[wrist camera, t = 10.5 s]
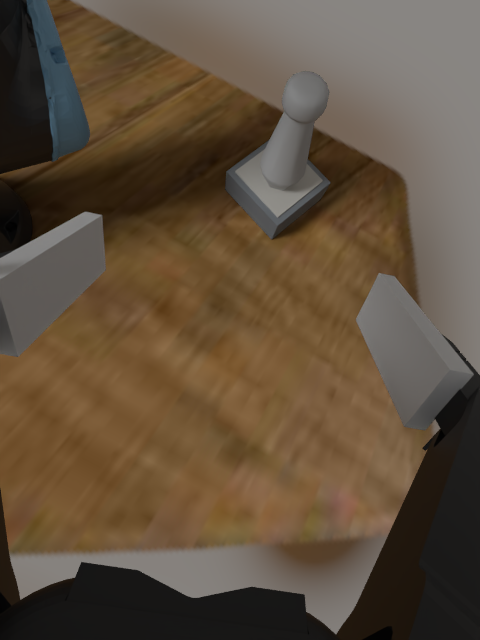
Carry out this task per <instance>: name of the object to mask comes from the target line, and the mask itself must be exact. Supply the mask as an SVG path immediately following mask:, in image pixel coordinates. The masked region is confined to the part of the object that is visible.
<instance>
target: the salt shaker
mask: <svg viewBox="0 0 480 640" xmlns="http://www.w3.org/2000/svg"><path fill="white" fill-rule="evenodd" d="M328 96H329V89H328V86H327V83H326V82H325V81H324V80H323V79H322V78H321V77H320V76H319V75H318V74H316V73H314V72H308V71H303V72H300V73H296V74H294V75H293V76H292V77H291V78H290V79H289V80H288V81H287V84H286V86H285V89H284V93H283V97H282V105H283V109H284V113H283V115H282V117H281V119H280V121H279V122H278V124H277V126H276V128H275V130H274V132H273V134H272V136H271V138H270V140H269V142H268V144H267V146H266V148H265V150H264V152H263V154H262V157H261V161H260V166H261V170H262V174H263V176H264V178H265V179H266V181H267V183H268V185H269V187H271V188H275V189H279V190H282V191H283V190H285V189H286V188H288V187H290V186H292V185H294V184H296V183H298V181H299V180H300V179H301V178H302V177H303V176H304V174H305V170H306V165H307V159H308V154H309V149H310V143H311V138H312V132H313V127H314V122H315V121H316V120H317V119H318V118H319V116H321V115H322V113H323V112H324V110H325V108H326V106H327V101H328Z"/></svg>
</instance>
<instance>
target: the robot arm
mask: <svg viewBox="0 0 480 640" xmlns="http://www.w3.org/2000/svg"><path fill="white" fill-rule="evenodd" d="M89 137H90V130H89V125H88V122H87V118H86V115H85V112H84V109H83V105H82V102H81V99H80V96H79V93H78V90H77V87H76V84H75V81H74V78H73V75H72V73H71V70H70V67H69V64H68V61H67V59H66V57H65V52H64V50H63V47H62V44H61V41H60V38H59V34H58V31H57V29H56V26H55V23H54V20H53V17H52V14H51V11H50V9H49V6H48V3H47V0H0V174H2V173H6V172H10V171H14V170H17V169H21V168H25V167H29V166H33V165H36V164H40V163H44V162H48V161H52V162H53V161H55V160H57V159H58V158H59V157H61V156H63V155H66V154H69V153H72V152H75V151H78V150H81V149H82V148H83V147H84V146H85V145H86V144H87V143H88V141H89ZM31 235H32V219H31V215H30V212H29V210H28V207H27V206H26V204H25V202H24V201H23V200H22V198H21V197H20V196H19V195H18V194H17V193H16V192H15V191H13V190H12V189H11V188H10V187H9V186H8V185H7V184H6V183H4V182H3V181H2V180H0V354H5V355H10V356H16V357H18V356H19V355H20V354H21V353H22V352H23V351H24V350H26V349H27V348H28V347H29V346H30V345H31V344H32V343H33V342H34V341H35V340H36V339H37V338H38V337H39V336H40V335H41V334H42V333H43V332H44V331H45V330H46V329H47V328H48V327H49V326H50V325H51V324H52V323H53V322H54V321H55V320H56V319H57V318H58V317H59V316H60V315H61V314H62V313H63V312H64V311H65V310H66V309H67V308H68V307H69V306H70V305H71V304H72V303H73V302H74V301H75V300H76V299H77V298H78V297H79V296H80V295H81V294H82V293H83V292H84V291H85V290H86V289H87V288H88V287H89V286H90V285H91V284H92V283H93V282H94V281H95V280H96V279H97V278H98V277H99V276H100V275H101V274H102V273H103V272H104V271H105V270H106V267H105V251H104V235H103V220H102V215H99V214H94V213H90V212H83V213H82V214H80V215H78V216H76V217H74V218H72V219H71V220H69V221H67V222H65V223H63V224H62V225H60V226H58V227H56V228H54V229H52V230H51V231H49V232H47V233H45V234H43V235H42V236H40V237H38V238H36V239H34V240H32V241H31V242H30V240H31ZM356 321H357V323H358V326H359V328H360V330H361V332H362V335H363V337H364V339H365V341H366V343H367V346H368V348H369V350H370V352H371V354H372V357H373V359H374V361H375V363H376V365H377V368H378V370H379V372H380V374H381V377H382V379H383V381H384V383H385V385H386V388H387V390H388V392H389V394H390V396H391V399H392V401H393V403H394V405H395V407H396V410H397V412H398V414H399V416H400V419H401V421H402V423H403V425H404V427H409V428H415V429H420V430H426V429H427V428H428V426H429V425H430V424H431V423H432V422H433V421H434V420H435V419H436V421H437V423H438V425H439V426H440V428H441V429H440V430H439V431H438V432H437V433H436V434H435V435H434V436H433V437H432V438H431V439H430V441H429V442H428V443H427V444H426V445H425V446H424V447H423V448H422V449H424V450H425V451H426V450H427V449H428V450H427V452H426V454H425V456H424V459H423V461H422V463H421V465H420V467H419V470H418V472H417V474H416V476H415V478H414V480H413V483H412V485H411V487H410V489H409V491H408V493H407V496H406V498H405V500H404V502H403V504H402V507H401V509H400V511H399V513H398V515H397V517H396V520H395V522H394V524H393V526H392V528H391V530H390V533H389V535H388V537H387V539H386V541H385V544H384V546H383V548H382V550H381V552H380V554H379V557H378V559H377V561H376V563H375V566H374V567H373V570H372V572H371V574H370V576H369V579H368V581H367V583H366V585H365V587H364V589H363V591H362V594H361V596H360V598H359V600H358V602H357V604H356V606H355V608H354V610H353V611H352V613H351V614H350V616H349V617H348V618H347V620H346V621H345V622H344V624H343V625H342V626H341V628H340V630H339V631H338V633H337V634H335V633H334V632H332V631H331V630H330V629H329V628H328V627H327V626H326V625H325V624H323V623H322V622H321V621H319V620H318V619H316V618H315V617H314V616H312V615H311V614H309V613H307V612H306V607H305V595H303V594H297V593H290V592H283V591H276V590H270V589H263V588H256V587H249V588H244V589H239V590H234V591H229V592H224V593H219V594H214V595H210V596H204V597H200V598H191V597H188V596H186V595H184V594H182V593H180V592H178V591H176V590H174V589H172V588H170V587H169V586H167V585H165V584H163V583H161V582H159V581H157V580H155V579H153V578H151V577H150V576H148V575H145V574H144V573H142V572H140V571H138V570H132V569H124V568H118V567H111V566H104V565H98V564H91V563H84V562H81V565H80V567H79V570H78V572H77V574H76V577H75V578H72V579H67V580H63V581H60V582H57V583H54V584H51V585H49V586H47V587H45V588H42V589H40V590H38V591H36V592H33V593H32V594H30V595H28V596H27V597H25V598H23V599H22V600H20V596H19V591H18V586H17V582H16V578H15V575H14V572H13V568H12V566H11V561H10V556H9V550H8V542H7V535H6V527H5V520H4V512H3V505H2V497H1V490H0V640H480V375H479V374H478V373H477V372H476V370H475V369H474V368H473V367H472V366H471V364H470V363H469V362H468V361H466V358H465V357H464V356H463V355H462V354H461V353H460V351H459V350H458V349H457V347H456V346H455V345H454V344H453V343H452V342H451V341H450V340H448V339H447V338H446V337H445V336H443V335H442V334H441V333H440V332H439V331H438V329H437V328H436V327H435V326H434V324H433V323H432V322H431V321H430V320H429V318H428V317H427V316H426V315H425V313H424V312H423V311H422V310H421V308H420V307H419V306H418V305H417V304H416V302H415V301H414V300H413V299H412V297H411V296H410V295H409V294H408V292H407V291H406V290H405V289H404V287H403V286H402V285H401V284H400V283H399V281H398V280H397V279H396V278H395V276H391V275H386V274H381V273H379V274H378V276H377V278H376V280H375V282H374V284H373V286H372V288H371V290H370V292H369V294H368V296H367V298H366V300H365V302H364V304H363V306H362V308H361V310H360V312H359V314H358V316H357V318H356Z"/></svg>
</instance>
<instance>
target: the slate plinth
mask: <svg viewBox="0 0 480 640" xmlns="http://www.w3.org/2000/svg"><path fill="white" fill-rule="evenodd" d="M268 142H269V140H268V141H267V142H266V143H264V144H263V145H262V146H260V147H259V148H258V149H256V150H255V151H253V152H252V153H251V154H249V155H248V156H247V157H245V158H244V159H243V160H241V161H240V162H238V163H237V164H236V165H234V166H233V167H232V168H230V169H229V170H228V171H226V185H225V190H226V191H227V192H228V193H229V194H230V195H231V196H232V197H233V199H234V200H235V201H236V202H237V203H238V204H239V205H240V206H241V207H242V208H243V209H244V210H245V212H246V213H247V214H248V215H249V216H250V217H251V218H252V219H253V220H254V221H255V222H256V223H257V224H258V226H259V227H260V228H261V229H262V230H263V231H264V232H265V233H266V234H267V235H268V236H269V237H270V238H271V240H272V239H273V238H274V237H275V236H277V235H278V234H279V233H280V232H282V231H283V230H284V229H285V228H286V227H288V226H289V225H290V224H291V223H292V222H294V221H295V220H296V219H297V218H299V217H300V216H301V215H302V214H303V213H305V212H306V211H307V210H308V209H310V208H311V207H312V206H313V205H314V204H316V203H317V202H318V201H319V200H321V198H322V196H323V195H324V193H325V191H326V190H327V188H328V186H329V185H330V183H331V182H330V181H329V180H328V179H327V178H326V177H325V176H324V175H323V174H322V173H321V172H320V171H319V170H318V169H317V168H316V167H315V166H314V165H313V164H312V163H311V162H310V161H309V160H308V159H307V165H306V170H305V174H304V176H303V177H302V178H301V179H300V180H299V181H298V183H296V184H294V185H292V186H290V187H288V188H286V189H285V190H283V191H282V190H279V189H275V188H271V187H269V185H268V183H267V181H266V179H265V178H264V176H263V174H262V170H261V166H260V161H261V157H262V154H263V152H264V150H265V148H266V146H267V144H268Z"/></svg>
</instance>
